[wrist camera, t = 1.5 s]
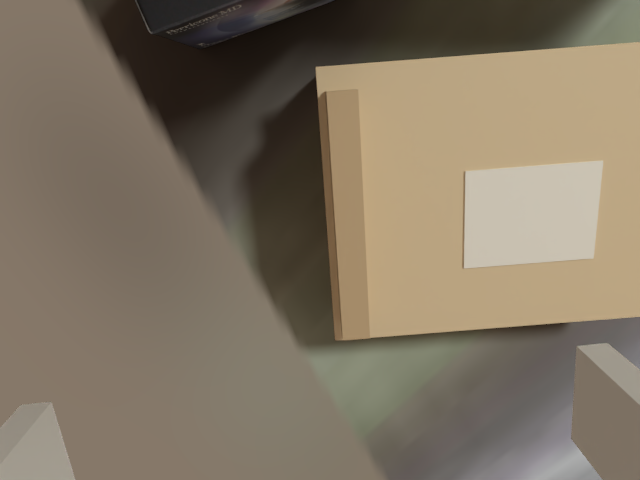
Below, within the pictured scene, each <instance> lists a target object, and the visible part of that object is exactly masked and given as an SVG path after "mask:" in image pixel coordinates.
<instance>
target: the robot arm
mask: <svg viewBox="0 0 640 480" xmlns="http://www.w3.org/2000/svg"><path fill="white" fill-rule="evenodd" d="M571 439H572V440H573V442H574V443H575V444H576V445H577V447H578V448H579V449H580V451H581V452H582V453H583V455H584V456H585V457H586V458H587V460H588V461H589V462H590V464H591V465H592V466H593V468H594V469H595V470H596V471H597V473H598V474H599V475H600V477H601V478H602V479H603V480H640V370H639V369H638V368H637V367H636V366H635V365H633V364H632V363H631V362H630V361H628V360H627V359H626V358H625V357H624V356H622V355H621V354H620V353H619V352H618V351H616V350H615V349H614V348H613V347H612V346H610V345H609V344H608V343H602V344H593V345H584V346H577V350H576V366H575V383H574V400H573V417H572V433H571ZM0 480H75V478H74V474H73V471H72V467H71V464H70V461H69V457H68V454H67V451H66V448H65V445H64V441H63V438H62V435H61V431H60V428H59V425H58V422H57V418H56V415H55V412H54V409H53V405H52V402H45V403H36V404H27V405H20V407H19V408H18V409H17V410H16V411H15V412H14V413H13V414H12V416H11V417H10V418H9V419H8V420H7V421H6V422H5V423H4V424H3V425H2V426H1V428H0Z"/></svg>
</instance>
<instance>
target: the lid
mask: <svg viewBox="0 0 640 480" xmlns="http://www.w3.org/2000/svg"><path fill="white" fill-rule="evenodd" d="M315 68H316V82H317V96H318V110H319V124H320V138H321V152H322V166H323V180H324V194H325V208H326V222H327V236H328V250H329V264H330V278H331V292H332V305H333V319H334V333H335V341H337V340H356V339H369V338H375V337H387V336H400V335H413V334H426V333H438V332H451V331H464V330H476V329H489V328H502V327H515V326H527V325H540V324H553V323H565V322H578V321H591V320H603V319H616V318H629V317H640V42H635V43H622V44H609V45H596V46H583V47H570V48H557V49H544V50H531V51H518V52H504V53H491V54H478V55H465V56H452V57H439V58H426V59H413V60H400V61H387V62H374V63H361V64H348V65H335V66H322V67H315Z"/></svg>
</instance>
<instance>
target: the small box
mask: <svg viewBox="0 0 640 480" xmlns="http://www.w3.org/2000/svg"><path fill="white" fill-rule="evenodd" d="M332 1H334V0H135V2H136V5H137V7H138V9H139V11H140V13H141V16H142V19H143V22H144V23H145V25H146V28H147V30H148V32H150V33H151V34H153V35H159V36H162V37H164V38H168V39H171V40H174V41H177V42H180V43H183V44H186V45H189V46H192V47H195V48H197V49H203V48H206V47H209V46H212V45H215V44H217V43H220V42H223V41H226V40H229V39H231V38H234V37H237V36H240V35H242V34H245V33H248V32H251V31H253V30H256V29H259V28H262V27H264V26H267V25H270V24H273V23H275V22H278V21H281V20H284V19H286V18H289V17H292V16H294V15H297V14H300V13H302V12H305V11H308V10H310V9H313V8H316V7H318V6H321V5H324V4H327V3H329V2H332Z"/></svg>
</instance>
